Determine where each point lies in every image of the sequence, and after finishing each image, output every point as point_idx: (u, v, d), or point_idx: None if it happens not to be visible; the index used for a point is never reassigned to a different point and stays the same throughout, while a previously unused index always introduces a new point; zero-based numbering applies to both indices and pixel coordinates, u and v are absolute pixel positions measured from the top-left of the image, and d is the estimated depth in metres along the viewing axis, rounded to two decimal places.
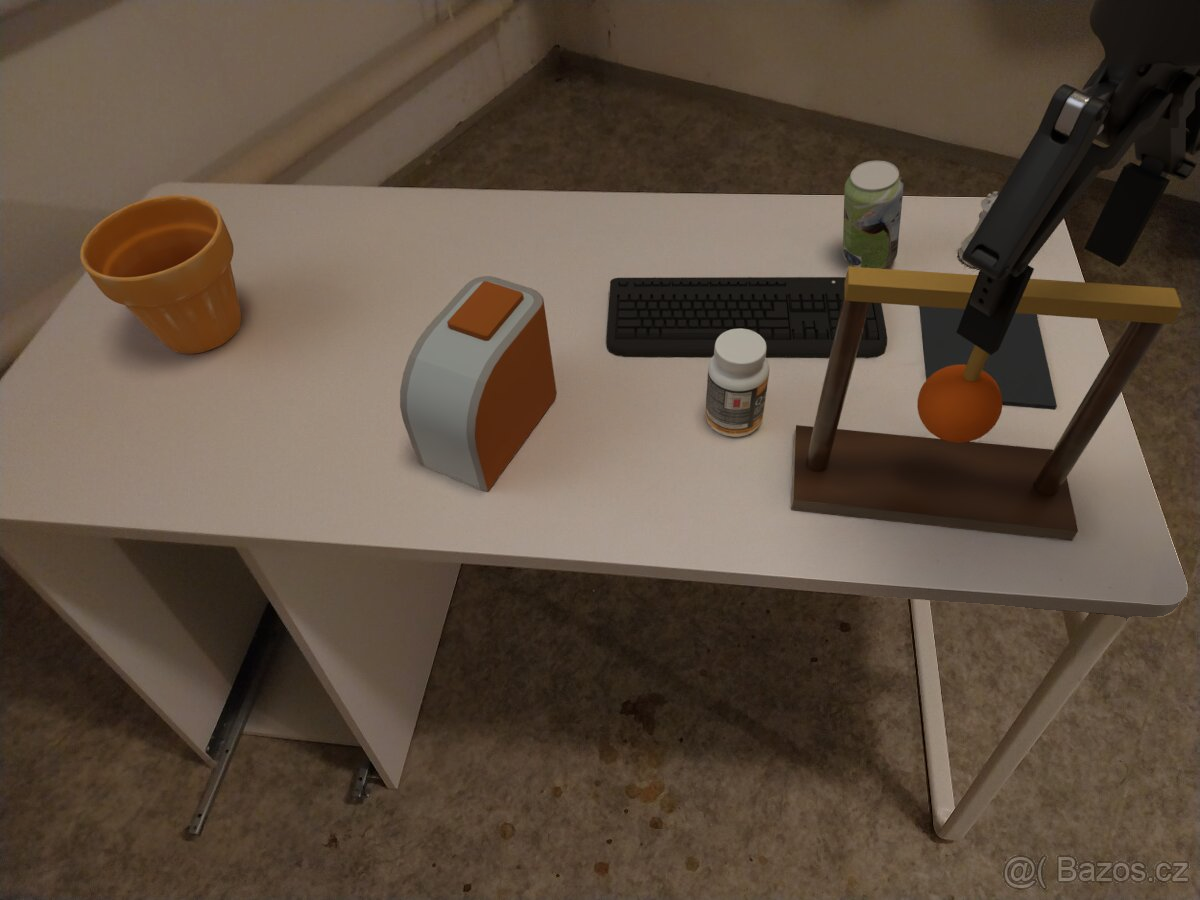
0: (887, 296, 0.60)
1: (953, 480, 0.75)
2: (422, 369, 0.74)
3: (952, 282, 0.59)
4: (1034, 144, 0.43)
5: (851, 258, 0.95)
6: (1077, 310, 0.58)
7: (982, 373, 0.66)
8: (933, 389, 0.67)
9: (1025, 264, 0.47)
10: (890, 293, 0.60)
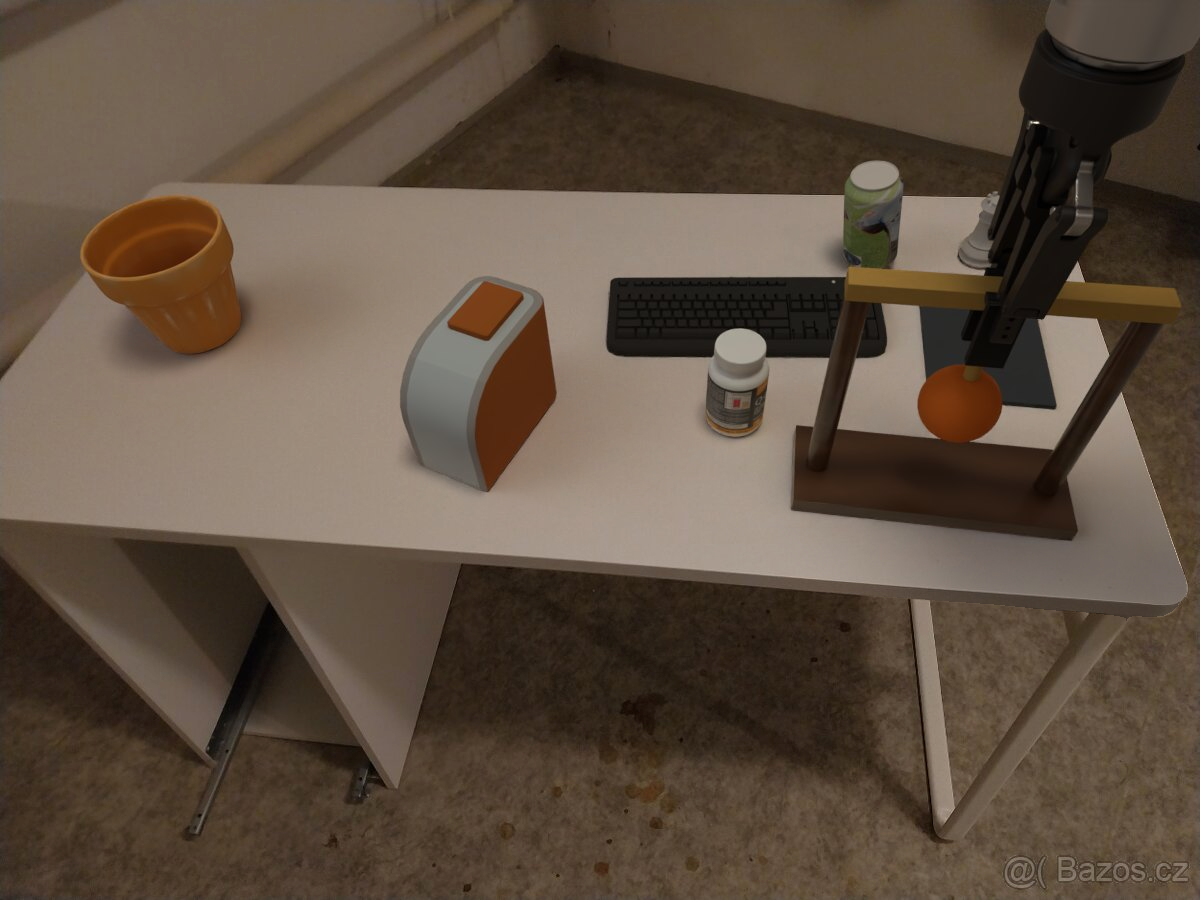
0: (887, 296, 0.60)
1: (953, 480, 0.75)
2: (422, 369, 0.74)
3: (952, 282, 0.59)
4: (1046, 246, 0.49)
5: (851, 258, 0.95)
6: (1077, 310, 0.58)
7: (982, 373, 0.66)
8: (933, 389, 0.67)
9: None
10: (890, 293, 0.60)
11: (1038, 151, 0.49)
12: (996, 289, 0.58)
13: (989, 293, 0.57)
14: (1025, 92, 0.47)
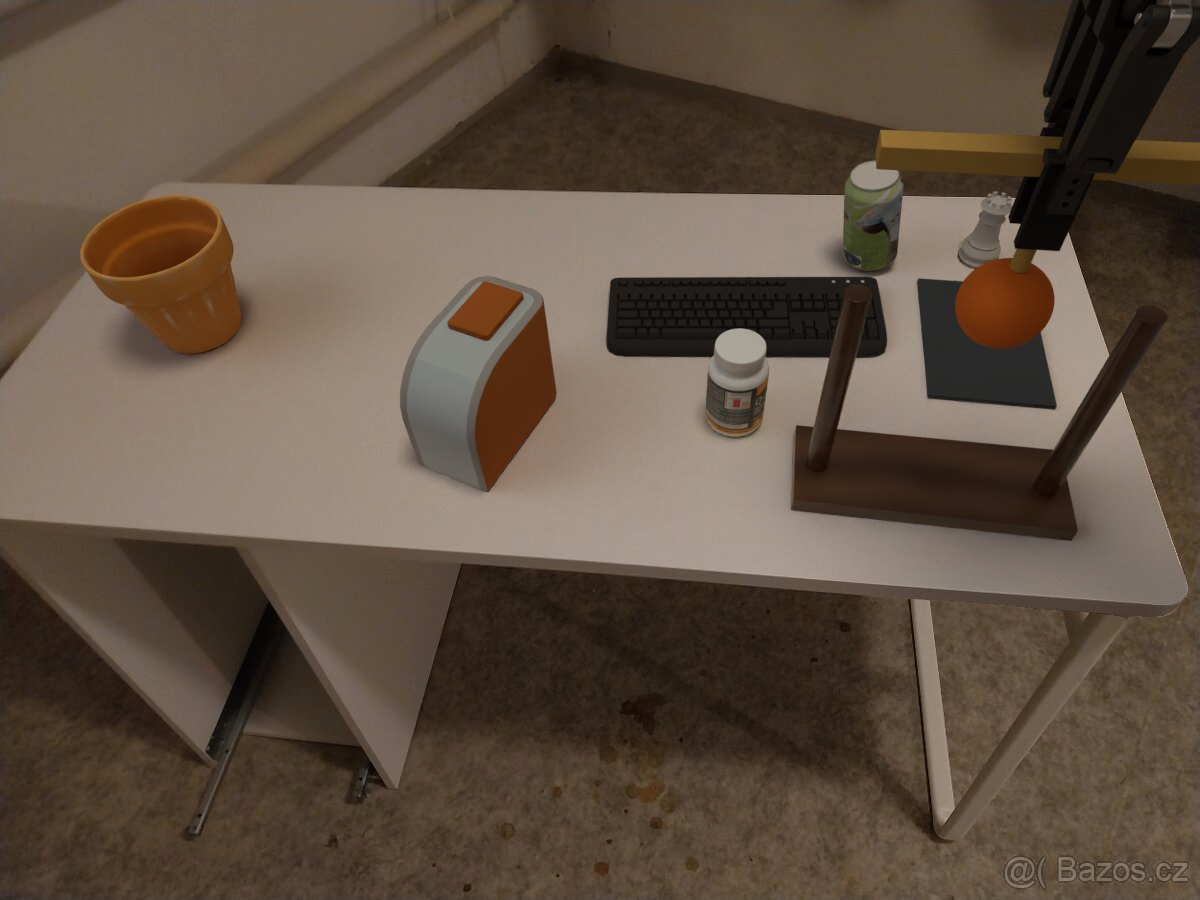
0: (927, 161, 0.51)
1: (953, 480, 0.75)
2: (422, 369, 0.74)
3: (1003, 143, 0.51)
4: (1128, 66, 0.41)
5: (851, 258, 0.95)
6: (1151, 172, 0.49)
7: (1032, 265, 0.58)
8: (974, 284, 0.58)
9: None
10: (930, 157, 0.51)
11: None
12: None
13: (1049, 150, 0.49)
14: None
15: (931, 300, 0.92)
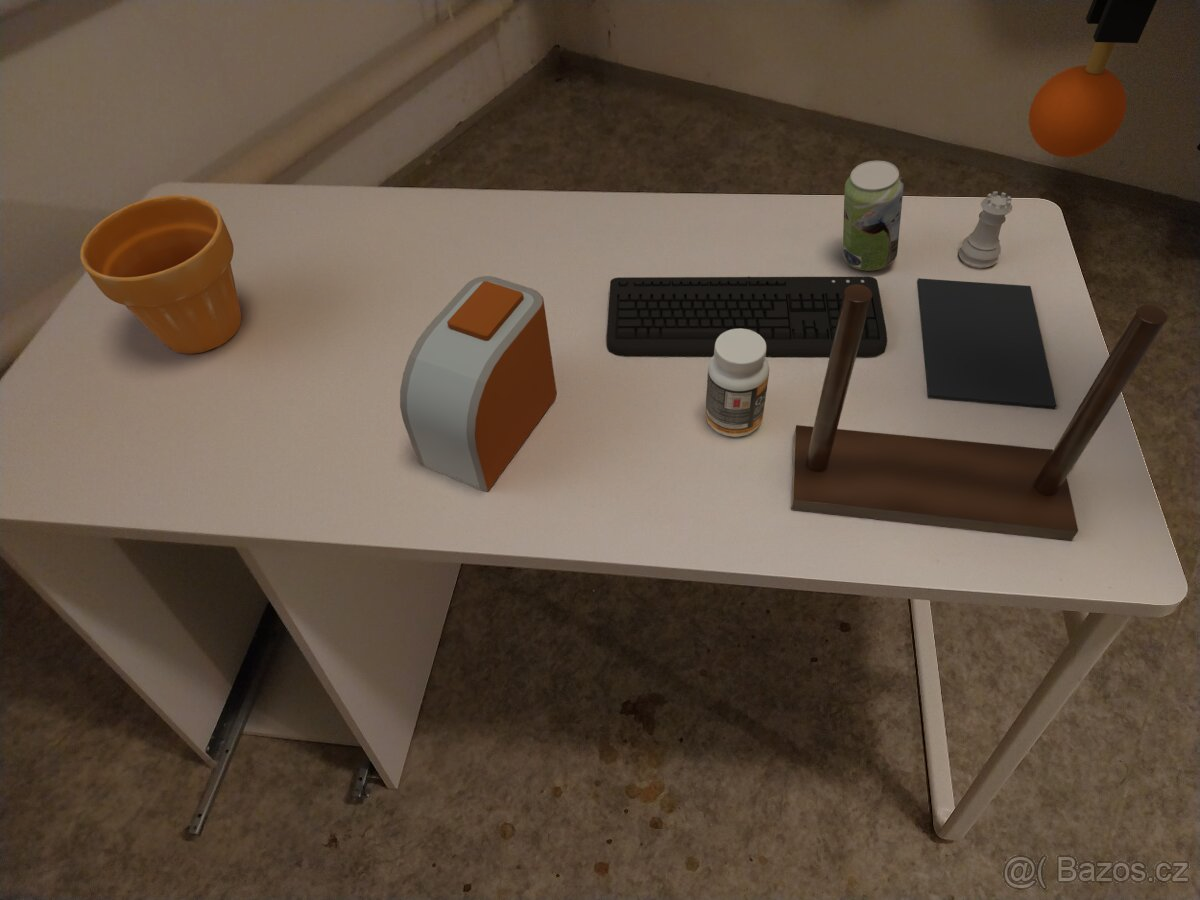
0: None
1: (953, 480, 0.75)
2: (422, 369, 0.74)
3: None
4: None
5: (851, 258, 0.95)
6: None
7: (1105, 69, 0.61)
8: (1050, 90, 0.61)
9: None
10: None
11: None
12: None
13: None
14: None
15: (931, 300, 0.92)
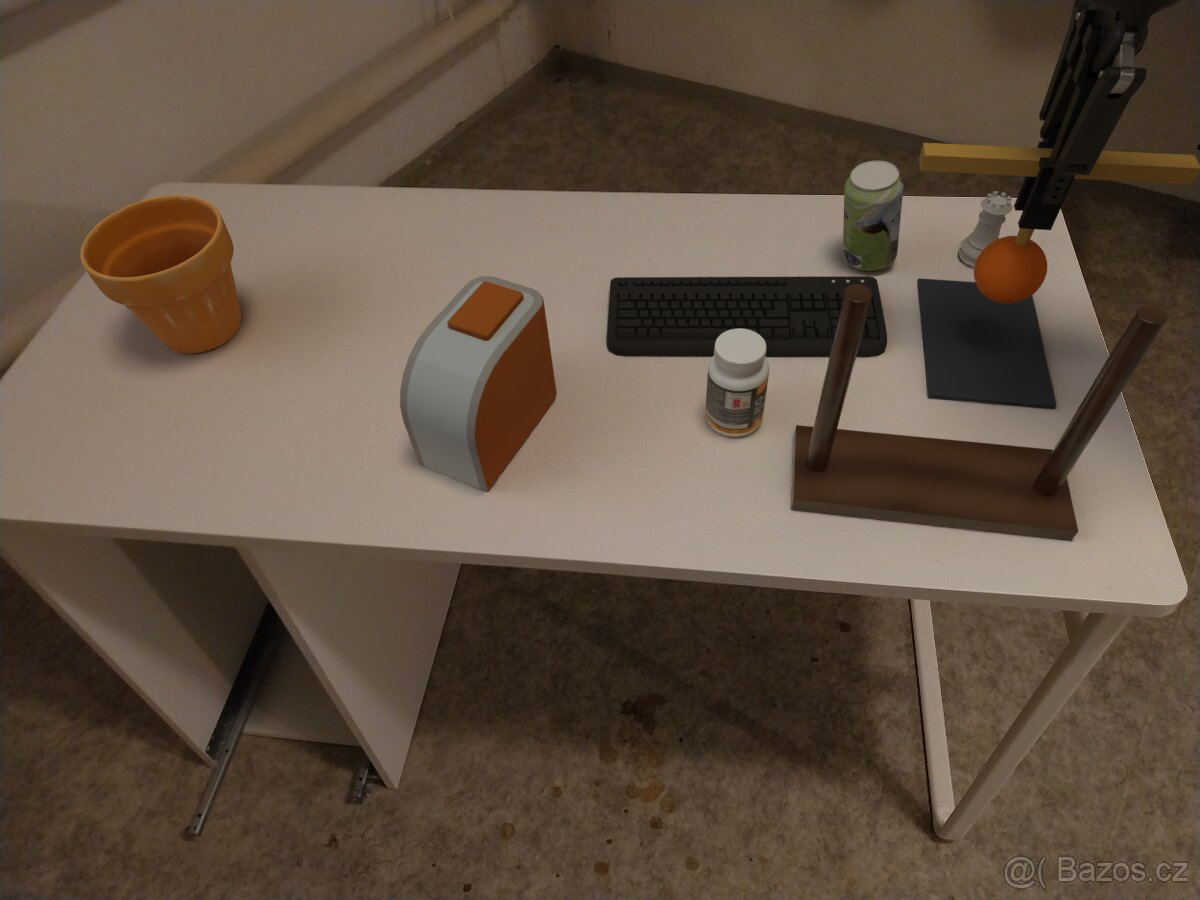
0: (957, 165, 0.72)
1: (953, 480, 0.75)
2: (422, 369, 0.74)
3: (1011, 153, 0.72)
4: (1095, 104, 0.62)
5: (851, 258, 0.95)
6: (1114, 174, 0.71)
7: (1030, 241, 0.79)
8: (988, 255, 0.79)
9: None
10: (959, 162, 0.72)
11: (1089, 28, 0.62)
12: None
13: (1043, 159, 0.70)
14: None
15: (931, 300, 0.92)
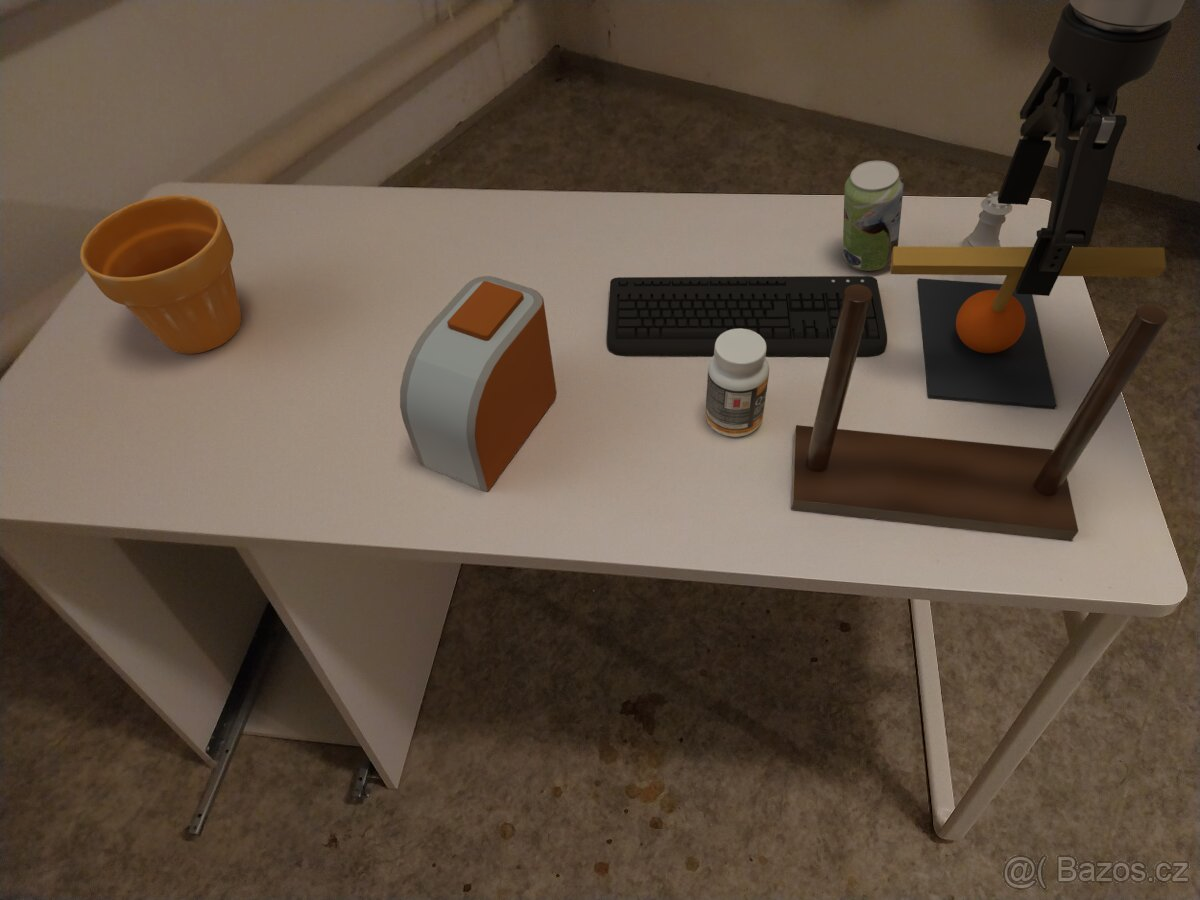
0: (925, 270, 0.75)
1: (953, 480, 0.75)
2: (422, 369, 0.74)
3: (978, 256, 0.74)
4: (1083, 156, 0.63)
5: (851, 258, 0.95)
6: (1080, 272, 0.73)
7: (1008, 301, 0.82)
8: (967, 316, 0.83)
9: None
10: (927, 269, 0.75)
11: (1062, 95, 0.66)
12: (1014, 261, 0.73)
13: None
14: (1053, 51, 0.64)
15: (931, 300, 0.92)
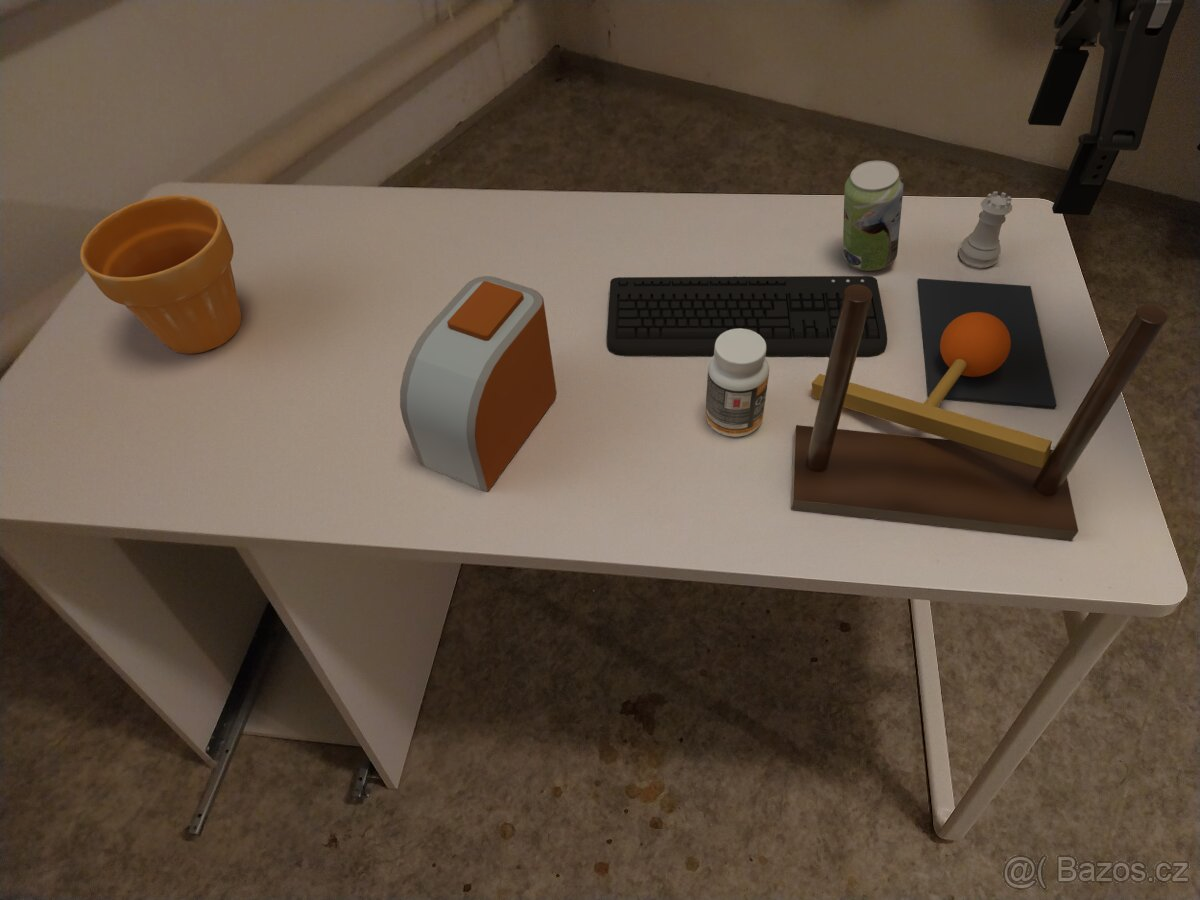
0: None
1: (953, 480, 0.75)
2: (422, 369, 0.74)
3: (879, 411, 0.79)
4: (1133, 43, 0.57)
5: (851, 258, 0.95)
6: None
7: (973, 358, 0.80)
8: (941, 352, 0.84)
9: None
10: None
11: None
12: (908, 423, 0.78)
13: (1082, 137, 0.62)
14: None
15: (931, 300, 0.92)
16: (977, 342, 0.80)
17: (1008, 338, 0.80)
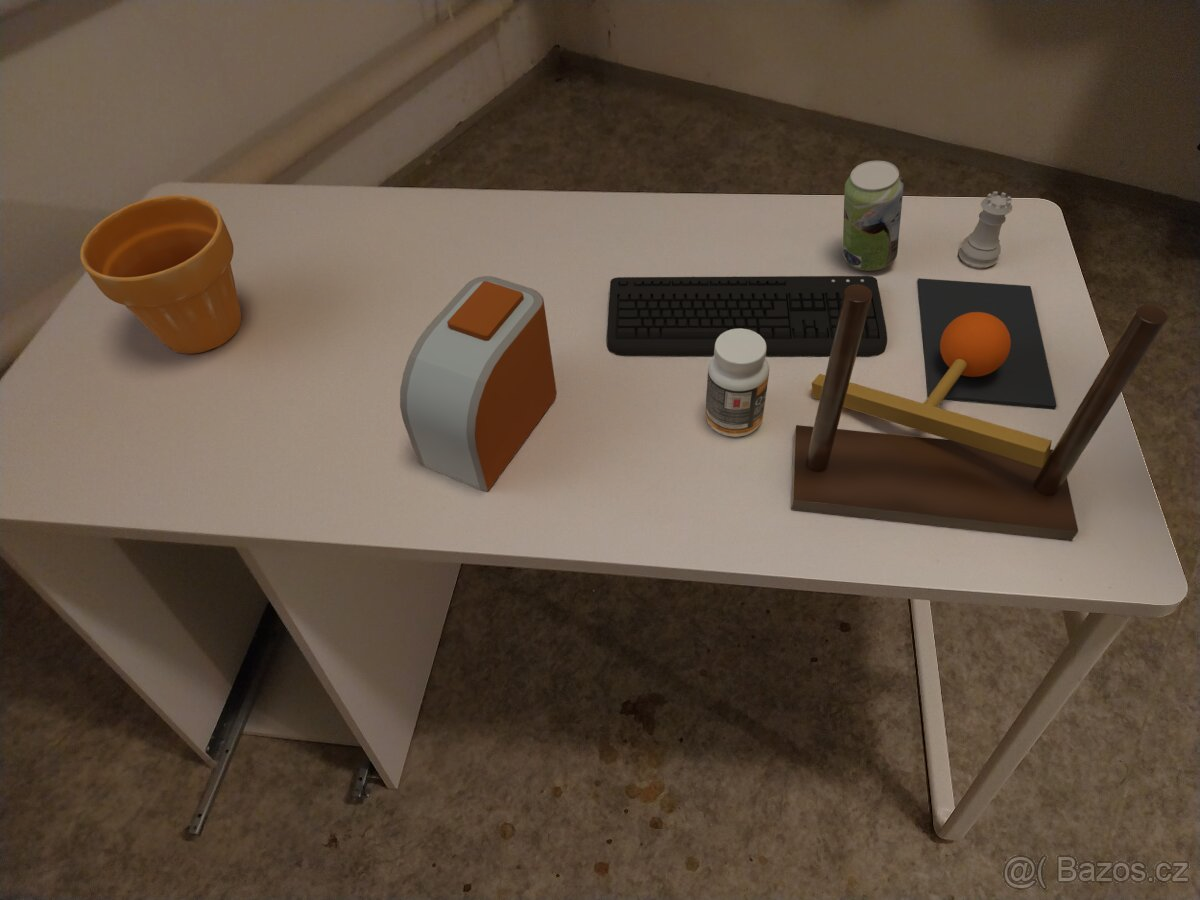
0: None
1: (953, 480, 0.75)
2: (422, 369, 0.74)
3: (879, 411, 0.79)
4: None
5: (851, 258, 0.95)
6: None
7: (973, 358, 0.80)
8: (941, 352, 0.84)
9: None
10: None
11: None
12: (908, 423, 0.78)
13: None
14: None
15: (931, 300, 0.92)
16: (977, 342, 0.80)
17: (1008, 338, 0.80)
